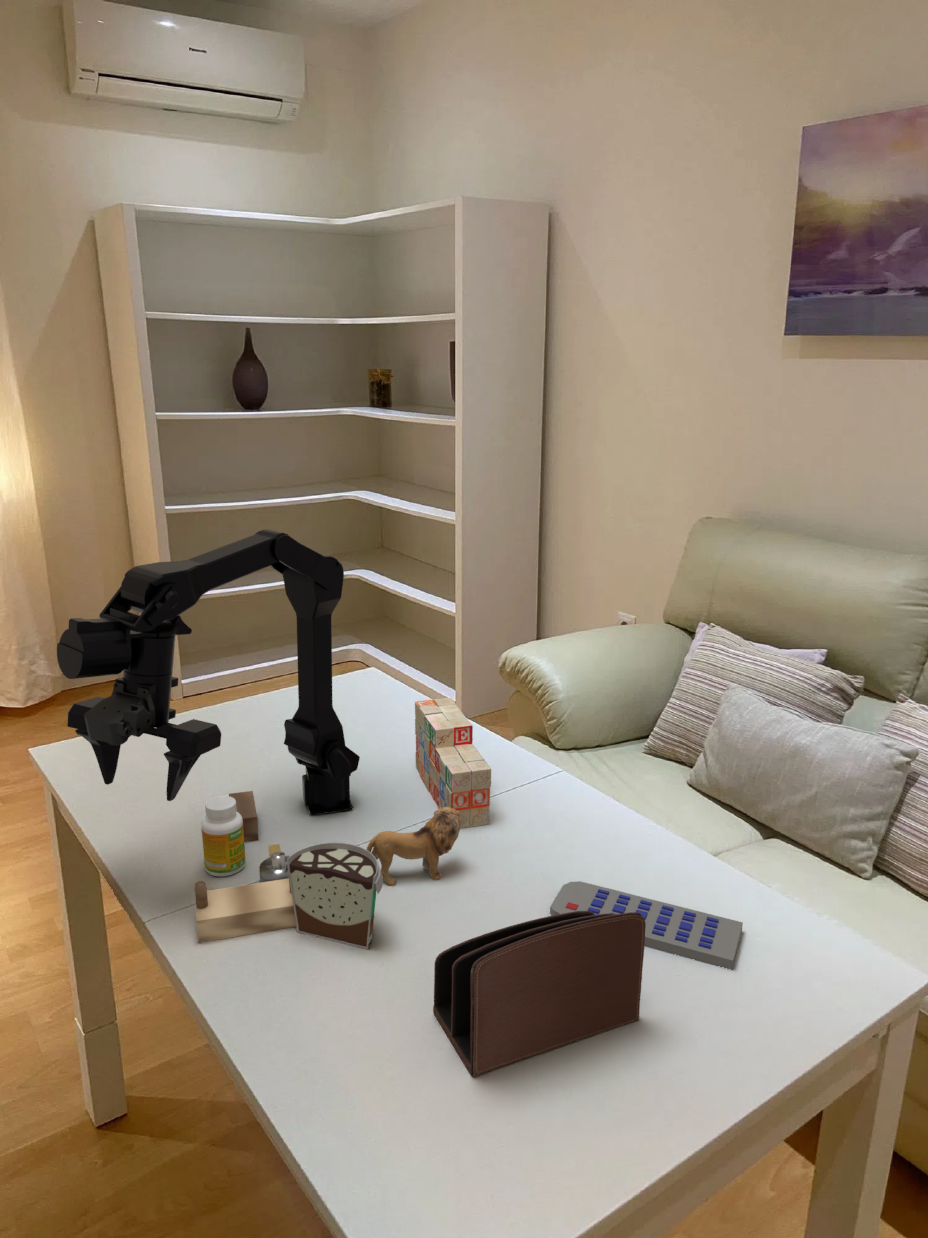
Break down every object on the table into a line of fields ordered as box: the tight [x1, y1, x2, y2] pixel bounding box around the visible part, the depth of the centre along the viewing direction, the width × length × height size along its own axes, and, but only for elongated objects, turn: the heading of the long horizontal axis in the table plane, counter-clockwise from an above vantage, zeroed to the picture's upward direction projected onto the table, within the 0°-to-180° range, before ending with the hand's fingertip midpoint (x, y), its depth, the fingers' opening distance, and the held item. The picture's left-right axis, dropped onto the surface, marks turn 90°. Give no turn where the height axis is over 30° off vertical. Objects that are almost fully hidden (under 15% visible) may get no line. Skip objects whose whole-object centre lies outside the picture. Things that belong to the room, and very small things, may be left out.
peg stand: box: [193, 878, 297, 944], centre depth 112 cm, size 13×6×6 cm, turn 107°
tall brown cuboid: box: [228, 790, 260, 844], centre depth 133 cm, size 4×8×4 cm, turn 17°
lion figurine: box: [365, 807, 461, 887], centre depth 122 cm, size 15×5×9 cm, turn 111°
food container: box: [284, 842, 384, 950], centre depth 111 cm, size 12×6×10 cm, turn 71°
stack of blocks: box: [414, 697, 492, 829], centre depth 143 cm, size 21×6×12 cm, turn 17°
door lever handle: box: [258, 843, 290, 883], centre depth 122 cm, size 5×8×4 cm, turn 17°
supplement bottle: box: [201, 795, 246, 877], centre depth 123 cm, size 5×5×10 cm
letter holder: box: [432, 911, 646, 1077], centre depth 96 cm, size 10×20×14 cm, turn 115°
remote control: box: [549, 880, 744, 971], centre depth 113 cm, size 8×23×2 cm, turn 66°
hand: (139, 791), depth 114 cm, fingers open, 9 cm apart
